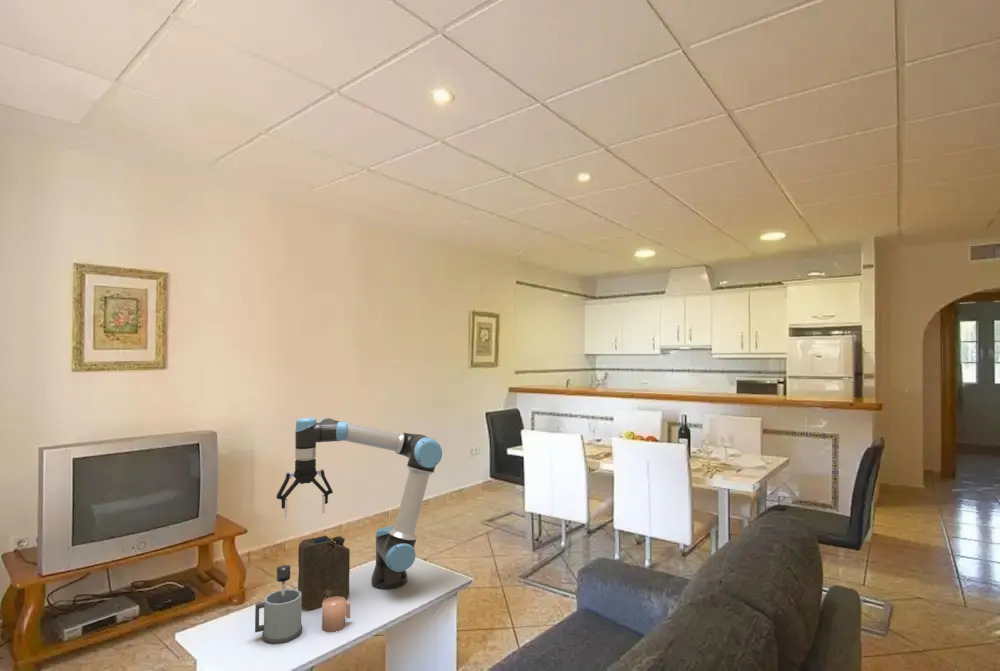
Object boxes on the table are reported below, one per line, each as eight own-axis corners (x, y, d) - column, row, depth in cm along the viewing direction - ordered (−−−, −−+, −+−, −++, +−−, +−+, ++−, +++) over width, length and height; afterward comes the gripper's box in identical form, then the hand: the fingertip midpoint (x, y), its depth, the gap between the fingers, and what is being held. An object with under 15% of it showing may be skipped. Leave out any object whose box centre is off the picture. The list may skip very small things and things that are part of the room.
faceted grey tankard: (300, 622, 195) (301, 586, 196) (303, 639, 183) (304, 600, 184) (254, 631, 189) (255, 593, 189) (254, 649, 177) (255, 609, 177)
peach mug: (347, 618, 198) (348, 593, 198) (351, 628, 190) (351, 602, 191) (320, 624, 194) (321, 598, 194) (323, 634, 186) (323, 608, 187)
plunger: (295, 611, 193) (296, 560, 194) (297, 623, 184) (298, 569, 185) (268, 616, 189) (269, 565, 190) (268, 628, 181) (269, 574, 181)
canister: (303, 613, 202) (304, 546, 203) (296, 605, 209) (297, 540, 210) (350, 598, 214) (351, 535, 215) (342, 591, 220) (342, 530, 222)
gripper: (337, 454, 214) (337, 508, 213) (270, 459, 203) (269, 516, 202) (340, 457, 207) (339, 513, 206) (270, 463, 197) (269, 521, 196)
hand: (304, 514), depth 204 cm, fingers open, 13 cm apart
